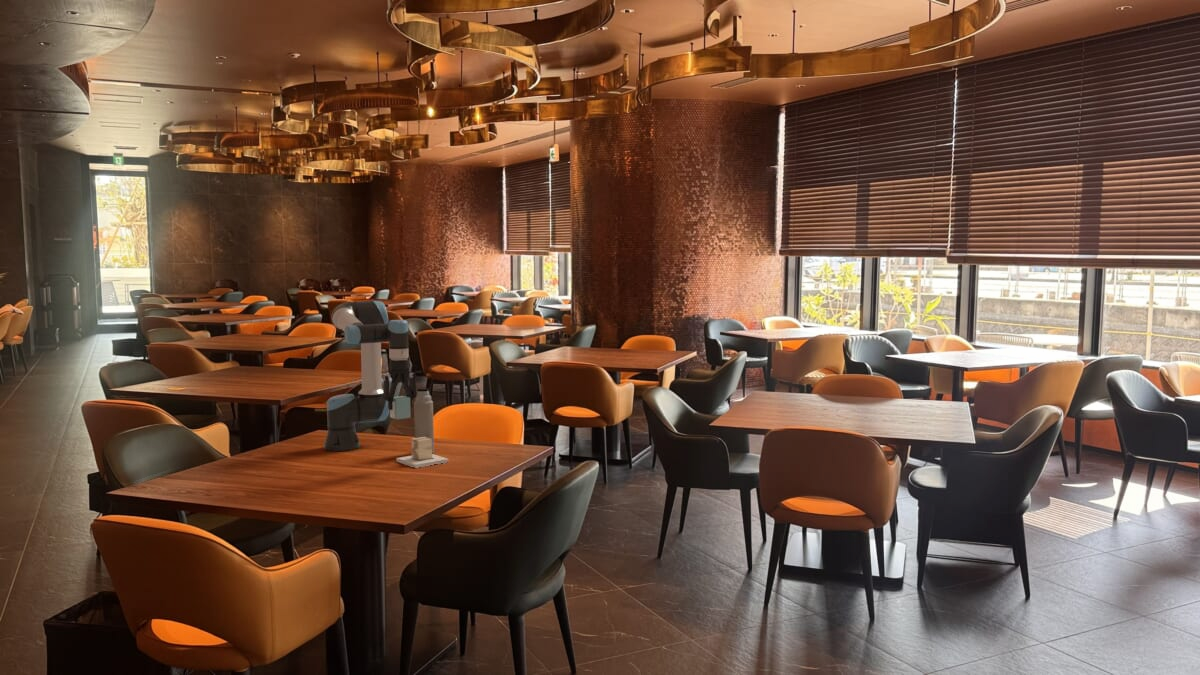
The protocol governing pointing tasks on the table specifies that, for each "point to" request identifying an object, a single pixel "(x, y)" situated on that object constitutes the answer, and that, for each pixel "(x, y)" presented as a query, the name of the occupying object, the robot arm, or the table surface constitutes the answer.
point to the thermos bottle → (424, 415)
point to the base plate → (422, 461)
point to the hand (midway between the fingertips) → (400, 416)
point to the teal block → (402, 407)
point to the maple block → (421, 448)
